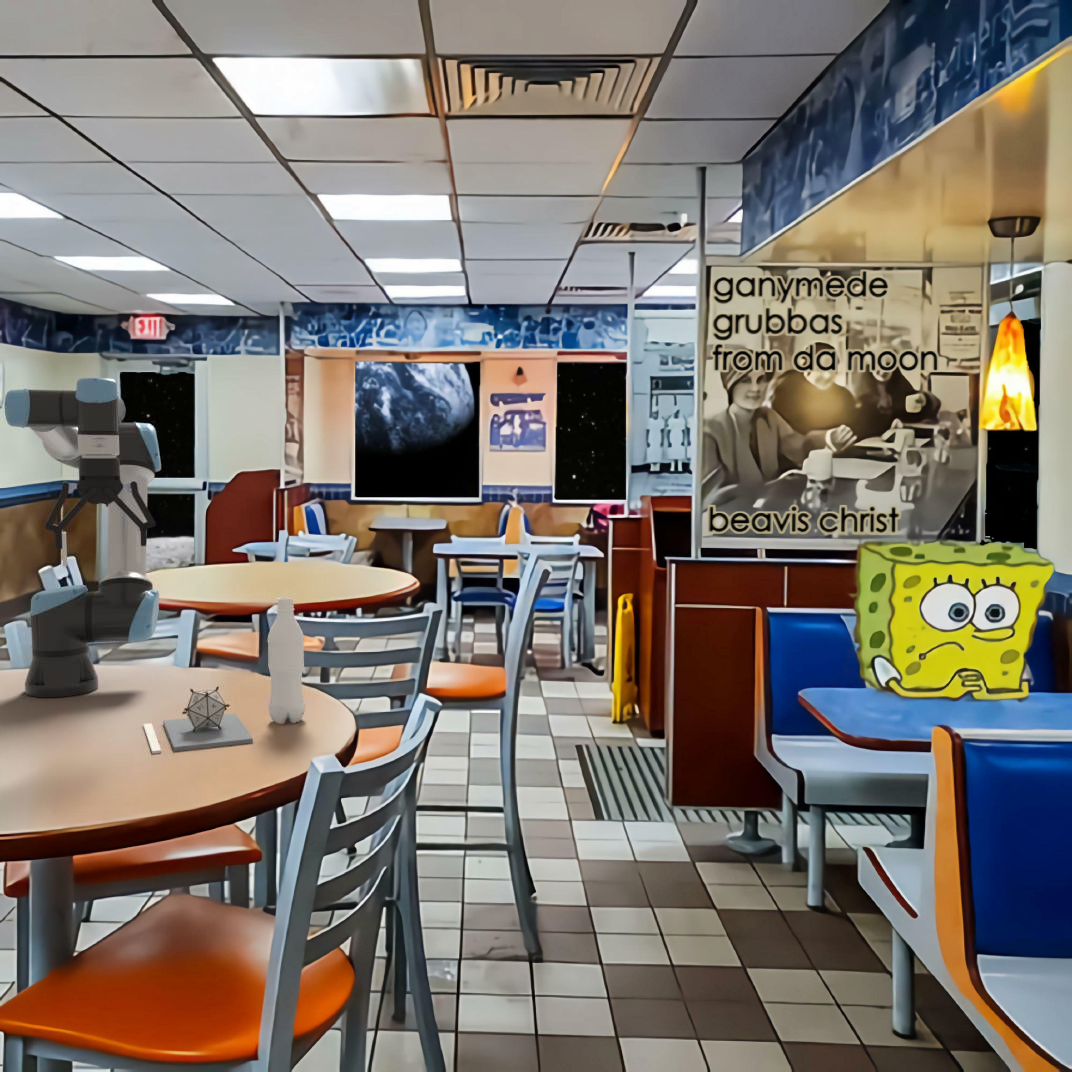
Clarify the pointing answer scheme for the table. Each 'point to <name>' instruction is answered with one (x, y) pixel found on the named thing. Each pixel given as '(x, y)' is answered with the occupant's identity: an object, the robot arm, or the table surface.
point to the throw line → (152, 738)
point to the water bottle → (286, 665)
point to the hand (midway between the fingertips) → (102, 564)
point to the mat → (206, 734)
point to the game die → (205, 709)
